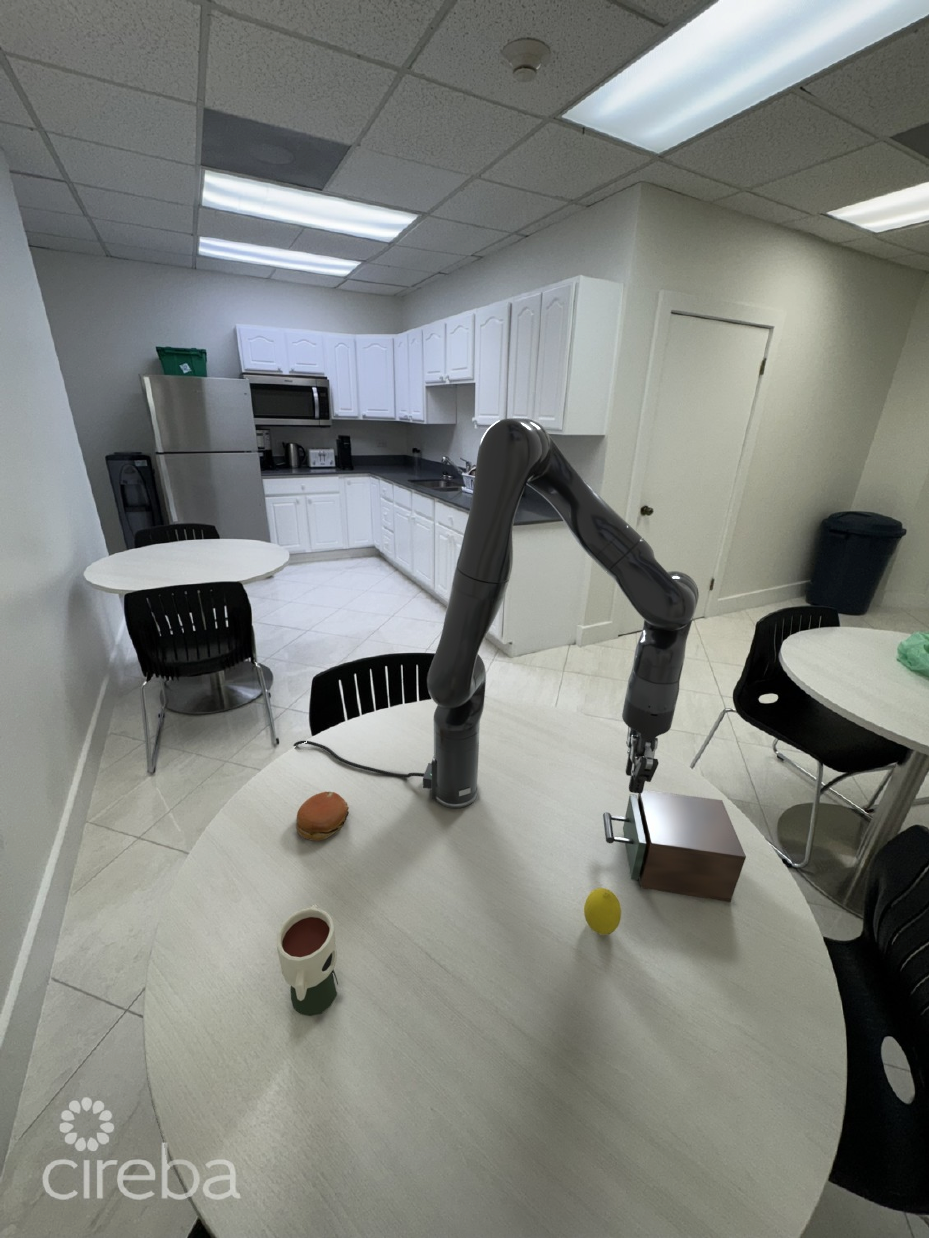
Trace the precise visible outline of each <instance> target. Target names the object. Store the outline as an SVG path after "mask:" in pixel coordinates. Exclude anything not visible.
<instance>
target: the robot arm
mask: <svg viewBox="0 0 929 1238" xmlns="http://www.w3.org/2000/svg"><path fill="white" fill-rule="evenodd" d="M476 456H477V457H476V463H475V472H474V473H475V474H474V479H473V488H472V497H471V502H470V508H469V513H468V517H467V519H466V520H467V521H466V524H465V529H464V532H463V537H462V541H461V546H460V550H459V554H458V557H457V560H456V563H455V564H456V565H455V567H454V572H453V576H452V577H453V578H452V582H451V585H450V586H451V587H450V592H449V598H448V601H447V606H446V610H445V615H444V620H443V625H442V630H441V635H440V638H439V641H438V645H437V648H436V650H435V652H434V656H433V659H432V661H431V664H430V665H429V666H430V667H429V669H428V672H427V676H426V687H427V691H428V694H429V696H430V698H431V699H432V701H433V702H434V703H435V704H436V705H437V706H436V708H435V710H434V713H433V756H432V759H431V762H428V763H427V766H426V768H425V771H424V772H409V773H397V772H391V771H387V770H382V769H378V768H374V767H371V766H366V765H364V764H363V765H362V764H359V763H355V762H352V761H350V760H348V759H346V758H343V757H341V756H339V755H338V754H336V752H334V751H333V750H332V749H331V748H330V747H328V746H326V745H324V744H321V743H317V742H315V741H310V740H297V741H295V742H294V743H293V744H292V746H293V747H297V746H299V745H303V744H302V743H304V742H306V741H307V743H305V744H304V745H309V746H314V747H317V748H320V749H323V750H324V751H326V752H328V753H329V754H330V755H331V756H332V757H333V758H334V759H336V760H338V761H339V762H340V763H344V764H345V765H348V766H351V767H354V768H357V769H361V770H365V771H368V772H372V773H376V774H380V775H385V776H390V777H394V778H395V777H396V778H401V779H402V778H403V779H407V778H408V779H409V778H411V777H422V788H423V789H428V790H431V793H430V797H431V800H434V801H436V802H437V803H438V804H439V805H442V806H443V807H446V808H449V809H461V808H466V807H468V806H470V805H471V804H473V803H474V802H475V800H476V799H477V797H478V793H479V792H478V787H479V786H478V785H479V784H478V778H479V754H480V753H479V752H480V729H481V726H480V725H481V718H482V717H483V712H484V707H485V697H486V685H487V670H486V666H485V665H486V664H485V663H484V660H483V658H482V657H481V656H480V655H479V652H480V650H481V649H480V648H481V647H482V644H483V642H484V640H485V638H486V637H487V634H488V632H489V631H490V629H491V627H492V626H493V623H494V622H495V620H496V617H497V616H498V613H499V611H500V609H501V606H502V604H503V602H504V599H505V597H506V592H507V589H508V586H509V582H510V579H511V575H512V571H513V564H514V543H513V542H514V541H513V539H514V538H513V530H514V529H513V528H514V522H515V518H516V513H517V512H518V511H517V510H518V508H519V505H520V502H521V498H522V495H523V493H524V490H525V487H526V485H527V486H528V487H530V488H531V489H532V490H534V491H535V492H537V493H538V494H539V495H540V496H542V497H543V498H544V499H545V500H546V502H547V503H549V504H550V505H551V506H552V508H554V510H555V511H556V512H557V513H558V515H559V516H560V518H561V520H563V522H564V524H565V525H566V527H567V529H568V530H569V532H570V534H571V535H572V536H573V538H574V539H575V541H576V542H577V543H578V545H579V547H580V548H581V549H582V550H583V551H584V552H585V553H586V554H587V555H588V556H589V557H590V558H591V559H592V560H593V561H594V563H595V564H597V565H598V566H599V567H600V568H601V570H602V571H604V572H606V574H607V575H608V576H609V577H611V578H612V579H613V580H614V582H615V583H616V584H617V585H618V587H619V589H620V591H621V592H622V593H623V595H624V596H625V598H626V599H627V600H628V602H629V603H630V605H631V606H632V607H633V608H634V610H635V612H637V613H638V615H639V616H640V617H641V618H642V619H643V625H642V630H641V633H640V635H639V638H638V640H637V642H636V646H635V651H634V656H633V661H632V666H631V667H632V668H631V671H630V674H629V677H628V680H627V684H626V691H625V696H624V701H623V702H624V703H623V708H622V713H621V717H622V721H623V722H624V724H625V725H626V726H627V736H626V741H625V744H626V747H627V750H626V754H627V759H626V760H627V761H626V765H625V775H626V776H627V777H630V778H629V783H628V792H629V793H631V794H639V793H642V792H643V790H644V788H645V784H646V782H647V783H651V782H652V779H653V777H654V775H655V774H656V771H657V768H658V766H659V764H660V763H659V760H658V758H655V754H656V750H657V749H658V745H659V738H658V737H659V736H662V735H664V734H667V733H668V732H669V731H670V729H671V728H672V724H673V719H674V715H675V711H676V707H677V702H678V699H679V694H680V684H681V683H680V681H681V678H682V677H681V676H682V672H683V667H684V663H685V657H686V648H687V640H688V637H689V634H690V630H691V627H692V623H693V620H694V617H695V613H696V610H697V606H698V602H699V597H700V595H699V593H700V592H699V588H698V585H697V584H696V583H697V582H695V580H694V579H693V578H692V577H691V576H690V575H689V574H687V573H685V572H683V571H679V570H678V571H677V570H670V571H667V570H666V569H665V568H664V567H663V566H662V564H660V562H658V560H657V559H656V558H655V552H654V550H653V548H652V546H651V545H650V544H649V542H647V540H646V539H645V538H644V537H642V535H640V533H639V532H637V531H636V529H635V528H633V527H632V526H631V525H630V523H628V522H627V521H626V520H625V519H624V518H623V517H622V516H621V515H620V514H618V512H616V511H615V510H614V509H613V508H612V507H611V505H609V504H608V503H607V502H606V501H605V500H604V499H603V498H602V497H601V496H600V495H599V494H598V493H597V492H596V490H594V489H593V488H592V487H591V486H590V485H589V484H588V482H587V481H586V480H585V479H584V477H582V476H581V475H580V473H579V472H578V471H577V469H576V468H575V467H574V466H573V464H572V463H571V462H570V461H569V460H568V458H567V457H566V455H565V454H564V453H563V451H562V450H561V448H559V446H558V444H557V443H556V442H555V440H554V439H553V438H552V437H551V434H550V433H548V431H547V430H546V429H545V427H544V426H543V425H542V424H540V422H537V421H535V420H533V419H530V418H525V417H523V418H522V417H521V418H520V417H519V418H518V417H516V418H515V417H512V418H511V417H510V418H503V419H499V420H497V421H496V422H494V423H492V424H491V425H490V426H489V427H488V428H487V429H486V430H485V433H484V434H483V436H482V437H481V440H480V443H479V447H478V452H477V455H476Z"/></svg>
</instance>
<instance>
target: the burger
mask: <svg viewBox="0 0 929 1238" xmlns="http://www.w3.org/2000/svg"><path fill="white" fill-rule="evenodd" d="M349 808H350V807H349V805H348V802H347V801H346V800H345V799H344V798H343V797H342V796H341V795H340V794H338V793H336V792H334V791H322V792H319V793H316V794H314V795H312V796H311V797H309V798H307V799H306V800H305V801H304V802H303V803H302V804H301V805H300V807H299V808H298V810H297V812H296V819H295V821H296V831H297V833H298V834H299V835H300V837H302V838H304V839H306V840H310V841H314V842H315V841H316V842H320V841H323V840H326V839H327V838H329V837H331V836H332V835H334V834H335V833H336V832H338V831H339V830H340V829H342V828H343V827H344V825H345V823H346V821H347V819H348V816H349V814H350V812H349Z"/></svg>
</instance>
